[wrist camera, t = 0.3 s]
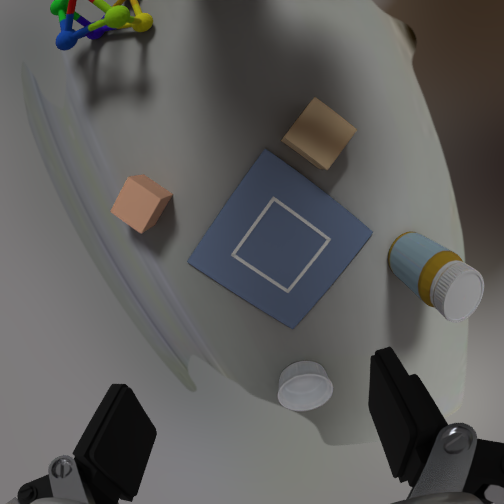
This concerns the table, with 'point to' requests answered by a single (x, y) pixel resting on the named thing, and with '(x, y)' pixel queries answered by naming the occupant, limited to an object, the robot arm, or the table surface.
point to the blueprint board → (279, 241)
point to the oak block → (319, 134)
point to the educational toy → (110, 21)
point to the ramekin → (304, 386)
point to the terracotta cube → (140, 202)
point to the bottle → (436, 275)
